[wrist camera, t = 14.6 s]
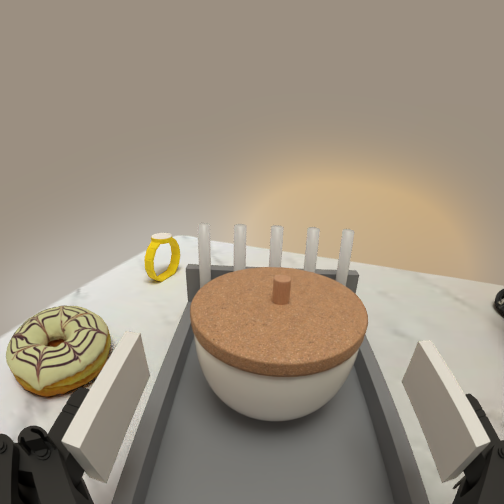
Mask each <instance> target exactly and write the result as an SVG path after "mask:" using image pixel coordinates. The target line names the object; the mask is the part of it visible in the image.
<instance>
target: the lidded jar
mask: <svg viewBox="0 0 504 504" xmlns="http://www.w3.org/2000/svg"><path fill="white" fill-rule="evenodd" d="M190 320H191V325H192V330H193V333H194V340H195V347H196V352H197V356H198V360H199V363H200V367H201V370H202V372H203V374H204V377H205V379H206V381H207V382H208V384H209V386H210V387H211V389H212V390H213V391H214V393H215V394H216V395H217V396H218V397H219V399H220V400H222V401H223V402H224V403H225V404H226V405H227V406H229V407H230V408H232V409H233V410H235V411H237V412H238V413H240V414H243V415H245V416H247V417H250V418H254V419H258V420H263V421H288V420H294V419H297V418H301V417H303V416H306V415H308V414H310V413H312V412H315V411H316V410H318V409H319V408H321V407H322V406H324V405H325V404H326V403H327V402H328V401H330V400H331V399H332V398H333V397H334V396H335V395H336V394H337V392H338V391H339V390H340V388H341V387H342V385H343V384H344V382H345V381H346V379H347V378H348V376H349V374H350V372H351V370H352V368H353V365H354V362H355V360H356V357H357V354H358V351H359V347H360V346H361V344H362V342H363V340H364V336H365V333H366V330H367V326H368V315H367V311H366V308H365V307H364V305H363V303H362V301H361V300H360V299H359V297H358V296H357V295H356V294H355V293H354V292H352V291H351V290H350V289H349V288H347V287H346V286H344V285H343V284H341V283H339V282H337V281H335V280H333V279H331V278H328V277H325V276H323V275H320V274H316V273H313V272H309V271H304V270H298V269H292V268H281V267H260V268H249V269H243V270H238V271H234V272H230V273H227V274H224V275H222V276H219V277H217V278H215V279H213V280H211V281H209V282H208V283H207V284H205V285H204V286H203V287H202V288H201V289H199V290H198V292H197V293H196V295H195V296H194V298H193V300H192V302H191V305H190Z"/></svg>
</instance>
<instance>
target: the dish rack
mask: <svg viewBox="0 0 504 504" xmlns="http://www.w3.org/2000/svg"><path fill="white" fill-rule="evenodd" d="M319 231H320V229H319V228H315V227H309V228H308V231H307V242H306V252H305V262H304V269H298V270H304V271H309V272H313V273H316V274H320V275H323V276H325V277H328V278H331V279H333V280H335V281H337V282H339V283H341V284H343V285H344V286H346V287H347V288H349V289H350V290H351V291H352V292H354V293H356V288H357V283H358V278H359V274H358V273H357V271H354V270H349V264H350V257H351V251H352V244H353V237H354V231H353V230H350V229H343V232H342V239H341V247H340V255H339V261H338V268H337V270H321V269H315V268H316V260H317V251H318V242H319ZM282 243H283V227H282V226H271V240H270V258H269V267H281V257H282ZM198 249H199V265H196V264H188V265H187V267H186V280H187V294H188V303H187V305H186V308H185V310H184V312H183V315H182V317H181V320H180V322H179V324H178V327H177V329H176V332H175V334H174V337H173V339H172V341H171V344H170V346H169V349H168V351H167V354H166V356H165V359H164V361H163V364H162V366H161V369H160V371H159V374H158V376H157V379H156V381H155V384H154V387H153V389H152V392H151V394H150V397H149V400H148V402H147V405H146V407H145V410H144V413H143V415H142V418H141V421H140V423H139V426H138V429H137V432H136V434H135V437H134V440H133V443H132V445H131V448H130V451H129V454H128V457H127V459H126V462H125V465H124V468H123V471H122V474H121V477H120V480H119V483H118V486H117V489H116V492H115V495H114V498H113V501H112V504H429V501H428V497H427V494H426V491H425V488H424V485H423V482H422V478H421V475H420V472H419V469H418V466H417V463H416V460H415V458H414V455H413V452H412V449H411V446H410V443H409V441H408V438H407V435H406V432H405V430H404V427H403V424H402V422H401V419H400V417H399V414H398V411H397V409H396V406H395V404H394V401H393V399H392V396H391V394H390V391H389V389H388V386H387V384H386V381H385V379H384V377H383V374H382V372H381V370H380V367H379V365H378V362H377V360H376V358H375V356H374V353H373V351H372V349H371V346H370V344H369V342H368V340H367V337H366V335H365V336H364V340H363V342H362V344H361V346H360V347H359V351H358V354H357V357H356V360H355V362H354V365H353V368H352V370H351V372H350V374H349V376H348V378H347V379H346V381H345V382H344V384H343V385H342V387H341V388H340V390H339V391H338V392H337V394H336V395H335V396H334V397H333V398H332V399H331V400H330V401H328V402H327V403H326V404H325V405H324V406H322V407H321V408H319V409H318V410H316V411H315V412H312V413H310V414H308V415H306V416H303V417H301V418H297V419H294V420H288V421H263V420H258V419H254V418H250V417H247V416H245V415H243V414H240V413H238V412H237V411H235V410H233V409H232V408H230V407H229V406H227V405H226V404H225V403H224V402H223V401H222V400H220V399H219V397H218V396H217V395H216V394H215V393H214V391H213V390H212V389H211V387H210V386H209V384H208V382H207V381H206V379H205V377H204V374H203V372H202V370H201V367H200V363H199V360H198V356H197V352H196V347H195V340H194V333H193V330H192V325H191V320H190V305H191V302H192V300H193V298H194V296H195V295H196V293H197V292H198V290H199V289H201V288H202V287H203V286H204V285H205V284H207V283H208V282H209V281H211V280H213V279H215V278H217V277H219V276H222V275H224V274H227V273H230V272H234V271H238V270H243V269H249V268H260V267H245V266H246V225H244V224H236V225H234V266H218V265H211V258H210V224H208V223H200V224H198Z"/></svg>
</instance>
